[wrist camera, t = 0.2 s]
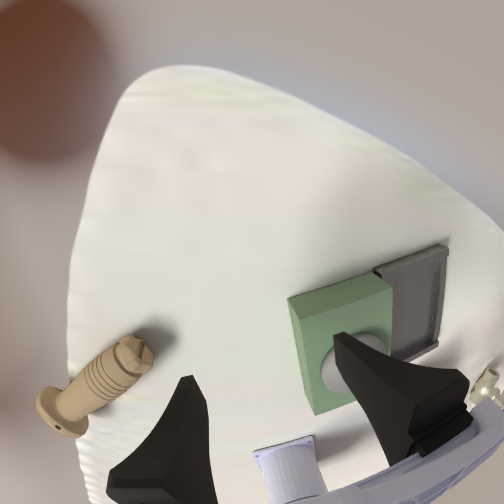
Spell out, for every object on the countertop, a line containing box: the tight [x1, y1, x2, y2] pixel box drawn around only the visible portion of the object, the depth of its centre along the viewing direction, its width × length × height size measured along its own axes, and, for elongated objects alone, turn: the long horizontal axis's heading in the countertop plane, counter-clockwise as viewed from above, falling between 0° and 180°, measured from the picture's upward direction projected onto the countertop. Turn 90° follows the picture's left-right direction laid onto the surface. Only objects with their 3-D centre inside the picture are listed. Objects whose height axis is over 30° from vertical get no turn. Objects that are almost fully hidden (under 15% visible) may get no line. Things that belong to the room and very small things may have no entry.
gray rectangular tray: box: [373, 244, 449, 363], centre depth 25 cm, size 13×9×2 cm
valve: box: [469, 367, 504, 411], centre depth 30 cm, size 7×7×12 cm
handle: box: [36, 335, 154, 438], centre depth 21 cm, size 5×6×15 cm
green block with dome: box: [287, 272, 393, 416], centre depth 23 cm, size 12×8×4 cm
